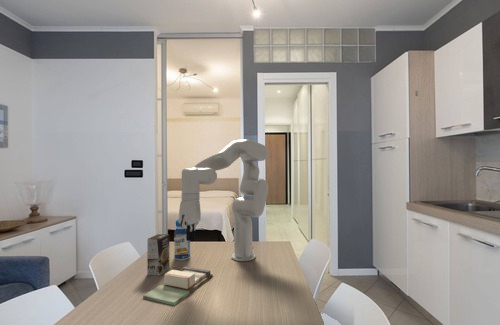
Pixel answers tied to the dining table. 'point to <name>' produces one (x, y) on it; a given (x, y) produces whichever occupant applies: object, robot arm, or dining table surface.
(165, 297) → the board
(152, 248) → the coffee box
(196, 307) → the dining table surface
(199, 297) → the dining table surface
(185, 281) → the stub
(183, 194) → the robot arm
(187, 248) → the beverage bottle
